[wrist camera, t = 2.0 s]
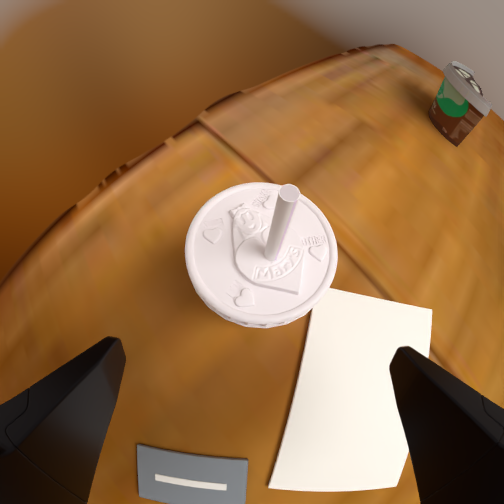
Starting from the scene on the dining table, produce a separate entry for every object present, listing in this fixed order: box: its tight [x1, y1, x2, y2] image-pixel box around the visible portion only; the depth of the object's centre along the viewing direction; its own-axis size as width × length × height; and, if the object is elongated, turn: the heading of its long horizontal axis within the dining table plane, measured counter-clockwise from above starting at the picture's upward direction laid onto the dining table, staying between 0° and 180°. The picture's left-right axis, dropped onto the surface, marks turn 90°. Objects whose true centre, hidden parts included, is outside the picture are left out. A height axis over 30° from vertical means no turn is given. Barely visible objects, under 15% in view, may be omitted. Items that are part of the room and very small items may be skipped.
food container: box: [429, 61, 492, 146], centre depth 27 cm, size 12×6×10 cm, turn 156°
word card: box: [137, 444, 248, 504], centre depth 14 cm, size 5×8×1 cm, turn 87°
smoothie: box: [185, 183, 338, 328], centre depth 14 cm, size 6×6×14 cm
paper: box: [268, 288, 432, 491], centre depth 17 cm, size 16×11×1 cm
